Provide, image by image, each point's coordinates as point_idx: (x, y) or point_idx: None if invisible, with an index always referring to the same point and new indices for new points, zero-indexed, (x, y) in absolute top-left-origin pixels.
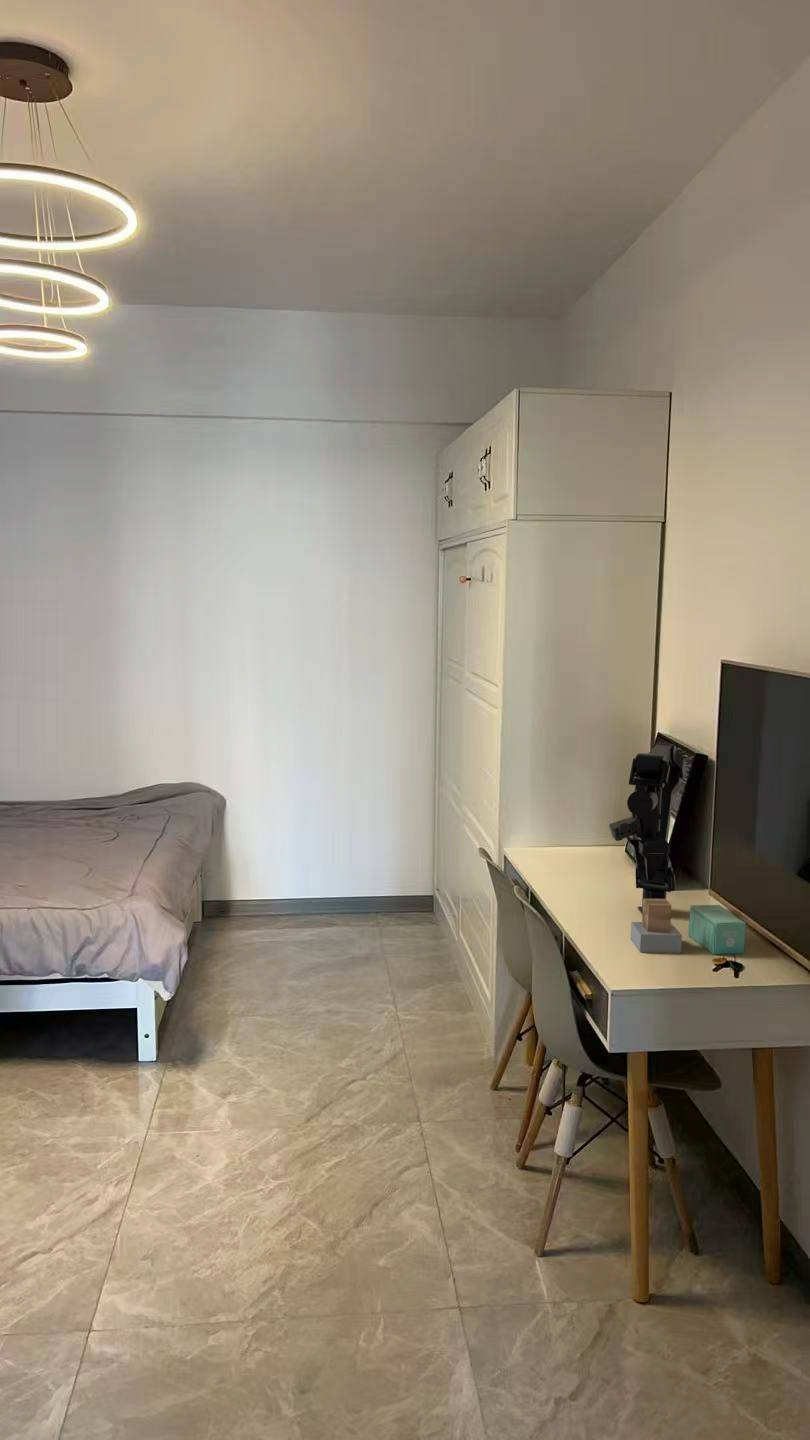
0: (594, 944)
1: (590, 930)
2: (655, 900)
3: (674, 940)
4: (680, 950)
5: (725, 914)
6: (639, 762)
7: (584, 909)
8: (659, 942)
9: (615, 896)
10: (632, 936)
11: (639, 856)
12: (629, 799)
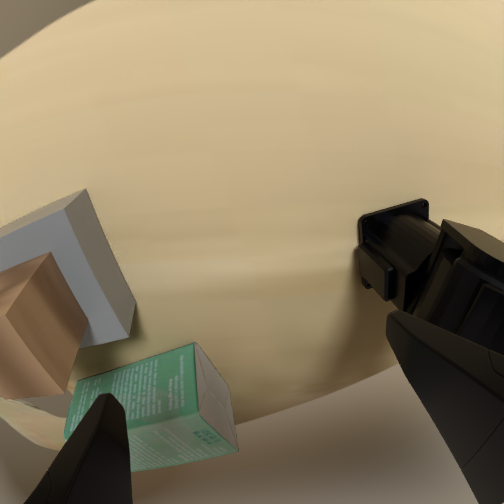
0: (3, 90)
1: (141, 38)
2: (16, 360)
3: None
4: None
5: (150, 461)
6: None
7: (393, 29)
8: None
9: (499, 146)
10: (57, 203)
11: (446, 386)
12: None
